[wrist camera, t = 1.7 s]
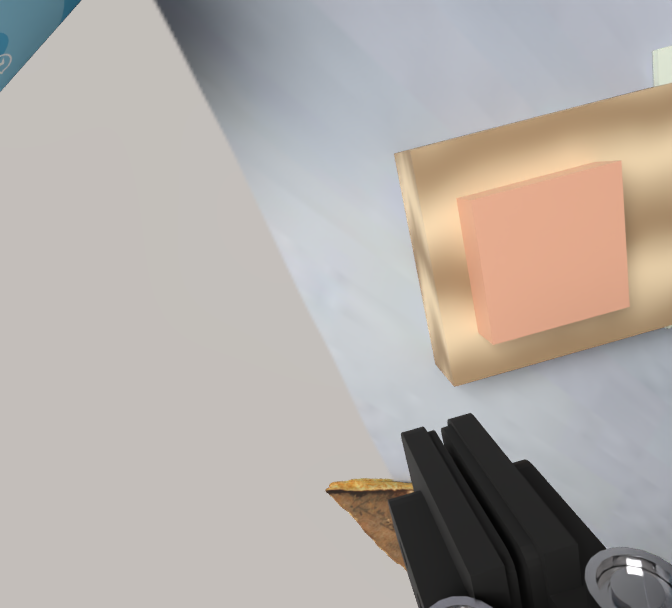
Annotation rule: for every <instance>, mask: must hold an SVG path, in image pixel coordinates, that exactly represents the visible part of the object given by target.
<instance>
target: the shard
mask: <svg viewBox="0 0 672 608" xmlns="http://www.w3.org/2000/svg"><path fill="white" fill-rule="evenodd" d="M329 487H330V488H327V489H326V492H327V493H328V494H329V495H330V496H332V497H333V498H334V499H335V501H336V502H337V503H338V504H339V505H340V506H341V507H342V508H343V509H345V510H346V511H348V512H349V514H350V515H351V516H352V517H353V518H354V519H355V520H356V521H357V522H358V523H359V525H360V526H361V527H362V529H363V530H364V532H365V533H366V534H367V535H368V536H370V537H371V538H372V539H373V540H374V541H375V543H376V544H377V546H379V548H381V550H383V551H385V552H386V554H387V555H388V556H389V557H390V558H391V559H392V560H394V561H395V562H396V563H397V564H400V565H401V566H403V567H404V569H405V570H406V567H405V564H404V560H403V557H402V554H401V550H400V547H399V543H398V540H397V536H396V533H395V529H394V525H393V521H392V517H391V514H390V510H389V506H388V501H387V500H388V499H392V498H395V497H399V496H402V495H405V494H409V493H412V492H414V490H413V485H412V483H402V482H393V479H382V478H380V479H370V478H361V479H351V480H348V481H337V482H332V483H330V485H329ZM406 571H407V570H406Z"/></svg>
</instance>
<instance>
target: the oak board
mask: <svg viewBox="0 0 672 608" xmlns="http://www.w3.org/2000/svg"><path fill="white" fill-rule="evenodd" d="M394 156H395V161H396V166H397V171H398V176H399V181H400V186H401V191H402V197H403V202H404V207H405V212H406V217H407V222H408V227H409V232H410V237H411V242H412V247H413V252H414V257H415V263H416V268H417V273H418V278H419V283H420V288H421V293H422V298H423V303H424V308H425V313H426V318H427V323H428V329H429V334H430V339H431V344H432V349H433V354H434V359H435V364H436V365H437V367H438V368H439V369H440V370H441V371H442V373H443V374H444V375H445V376H446V377H447V379H448V380H449V381H450V382H451V383H452V385H453V386H454V387H455V386H459V385H462V384H466V383H469V382H473V381H476V380H480V379H483V378H487V377H490V376H494V375H497V374H501V373H504V372H508V371H512V370H515V369H519V368H522V367H526V366H529V365H533V364H536V363H540V362H543V361H547V360H550V359H554V358H557V357H561V356H564V355H568V354H571V353H575V352H578V351H582V350H586V349H589V348H593V347H596V346H600V345H603V344H607V343H610V342H614V341H617V340H621V339H624V338H628V337H631V336H635V335H638V334H642V333H645V332H649V331H653V330H656V329H660V328H663V327H667V326H670V325H672V83H668V84H664V85H660V86H656V87H651V88H647V89H643V90H639V91H636V92H632V93H628V94H624V95H620V96H616V97H612V98H608V99H604V100H601V101H597V102H593V103H589V104H585V105H581V106H577V107H573V108H569V109H566V110H562V111H558V112H554V113H550V114H546V115H542V116H538V117H534V118H531V119H527V120H523V121H519V122H515V123H511V124H507V125H503V126H499V127H496V128H492V129H488V130H484V131H480V132H476V133H472V134H468V135H464V136H461V137H457V138H453V139H449V140H445V141H441V142H437V143H433V144H429V145H426V146H422V147H418V148H414V149H410V150H406V151H402V152H398V153H394ZM620 160H621V162H622V180H623V197H624V215H625V232H626V250H627V267H628V285H629V302H630V307H627V308H624V309H620V310H617V311H613V312H609V313H606V314H602V315H599V316H595V317H592V318H588V319H584V320H581V321H577V322H574V323H570V324H567V325H563V326H559V327H556V328H552V329H549V330H545V331H542V332H538V333H534V334H531V335H527V336H524V337H520V338H517V339H513V340H510V341H506V342H502V343H499V344H495V345H493V344H492V343H490V342H489V341H488V340H486V339H485V338H484V337H483V336H481V335H480V334H479V333H478V328H477V322H476V316H475V310H474V304H473V298H472V292H471V285H470V279H469V273H468V267H467V261H466V255H465V249H464V242H463V236H462V230H461V224H460V218H459V212H458V206H457V199H456V198H459V197H463V196H467V195H471V194H474V193H478V192H482V191H486V190H490V189H493V188H497V187H501V186H505V185H509V184H512V183H516V182H520V181H524V180H527V179H531V178H535V177H539V176H543V175H546V174H550V173H554V172H558V171H562V170H565V169H569V168H573V167H577V166H581V165H584V164H588V163H592V162H598V161H620Z"/></svg>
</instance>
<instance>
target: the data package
mask: <svg viewBox="0 0 672 608" xmlns="http://www.w3.org/2000/svg"><path fill="white" fill-rule="evenodd" d="M80 1H81V0H0V91H2V89H3V88H4V87H5V86H6V85H7V84H8V83H9V81H10V80H11V79H12V78H13V77H14V76H15V75H16V74H17V72H18V71H19V70H20V69H21V68H22V67H23V66H24V65H25V63H26V62H27V61H28V60H29V59H30V58H31V57H32V55H33V54H34V53H35V52H36V51H37V50H38V49H39V47H40V46H41V45H42V44H43V43H44V42H45V41H46V40H47V38H48V37H49V36H50V35H51V34H52V33H53V32H54V31H55V29H56V28H57V27H58V26H59V25H60V24H61V23H62V22H63V20H64V19H65V18H66V17H67V16H68V15H69V14H70V13H71V11H72V10H73V9H74V8H75V7H76V5H78V4H79V2H80Z"/></svg>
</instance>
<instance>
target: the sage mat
mask: <svg viewBox="0 0 672 608" xmlns="http://www.w3.org/2000/svg"><path fill="white" fill-rule="evenodd" d="M653 76H654V87H656V86H660V85H664V84H668V83H672V46H669V47H665V48H661V49H657V50H654V51H653ZM671 327H672V325H670V326H667V327H664V328H666V329H668V328H671Z"/></svg>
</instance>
